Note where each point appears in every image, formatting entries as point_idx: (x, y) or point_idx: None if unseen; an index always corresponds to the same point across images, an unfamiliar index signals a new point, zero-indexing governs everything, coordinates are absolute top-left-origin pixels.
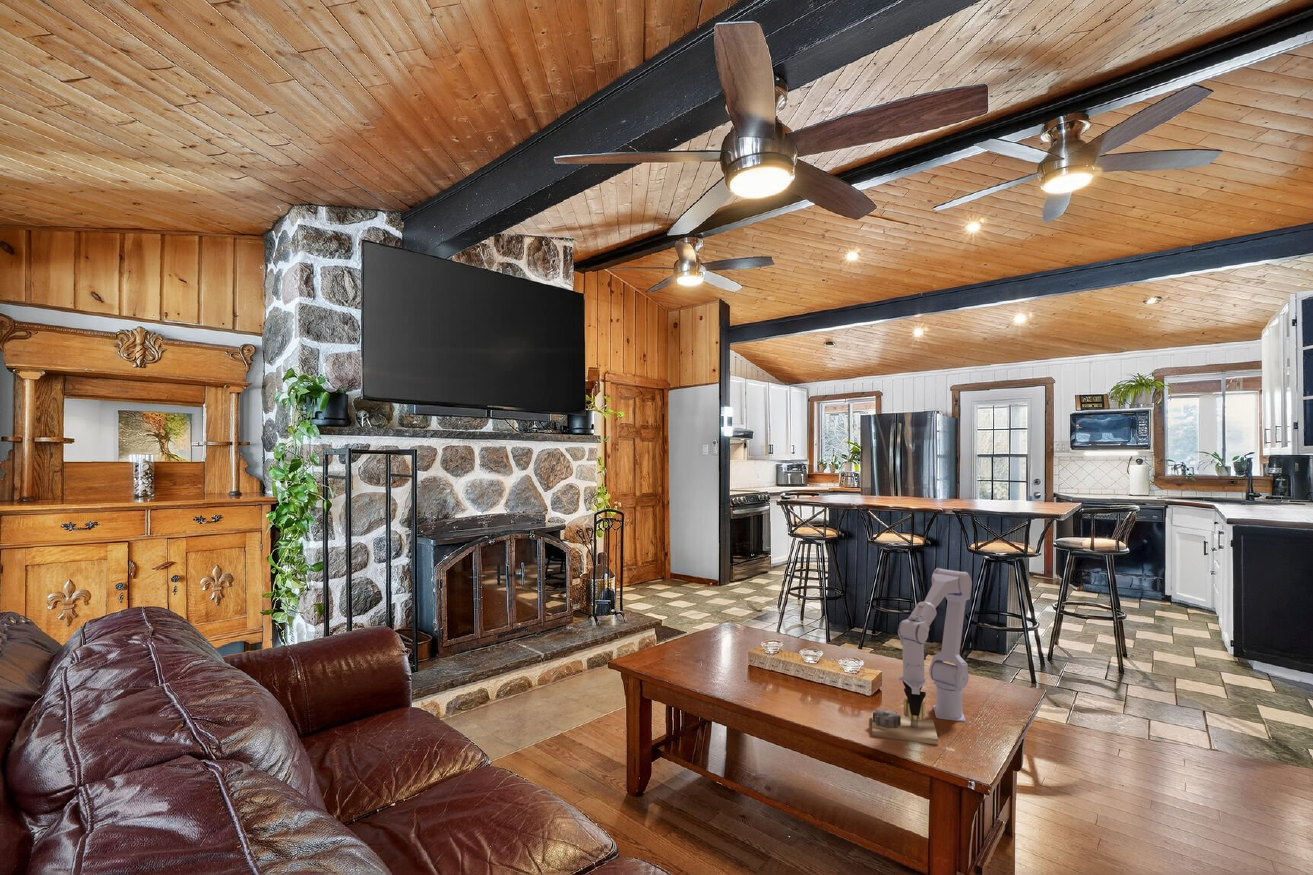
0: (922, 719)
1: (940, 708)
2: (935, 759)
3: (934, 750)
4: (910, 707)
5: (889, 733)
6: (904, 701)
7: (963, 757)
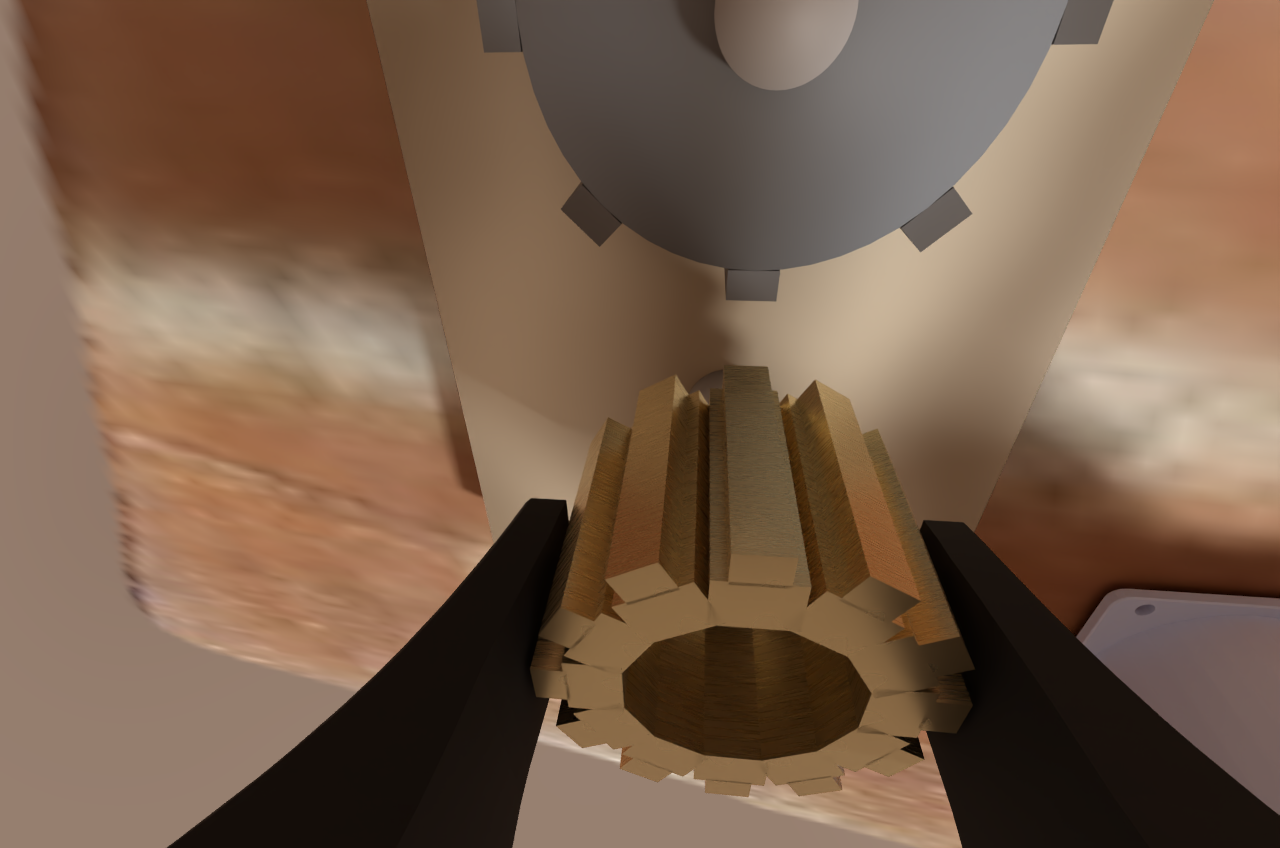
0: (959, 502)
1: (1197, 691)
2: (240, 458)
3: (401, 474)
4: (459, 596)
5: (387, 53)
6: (727, 556)
7: (403, 606)
